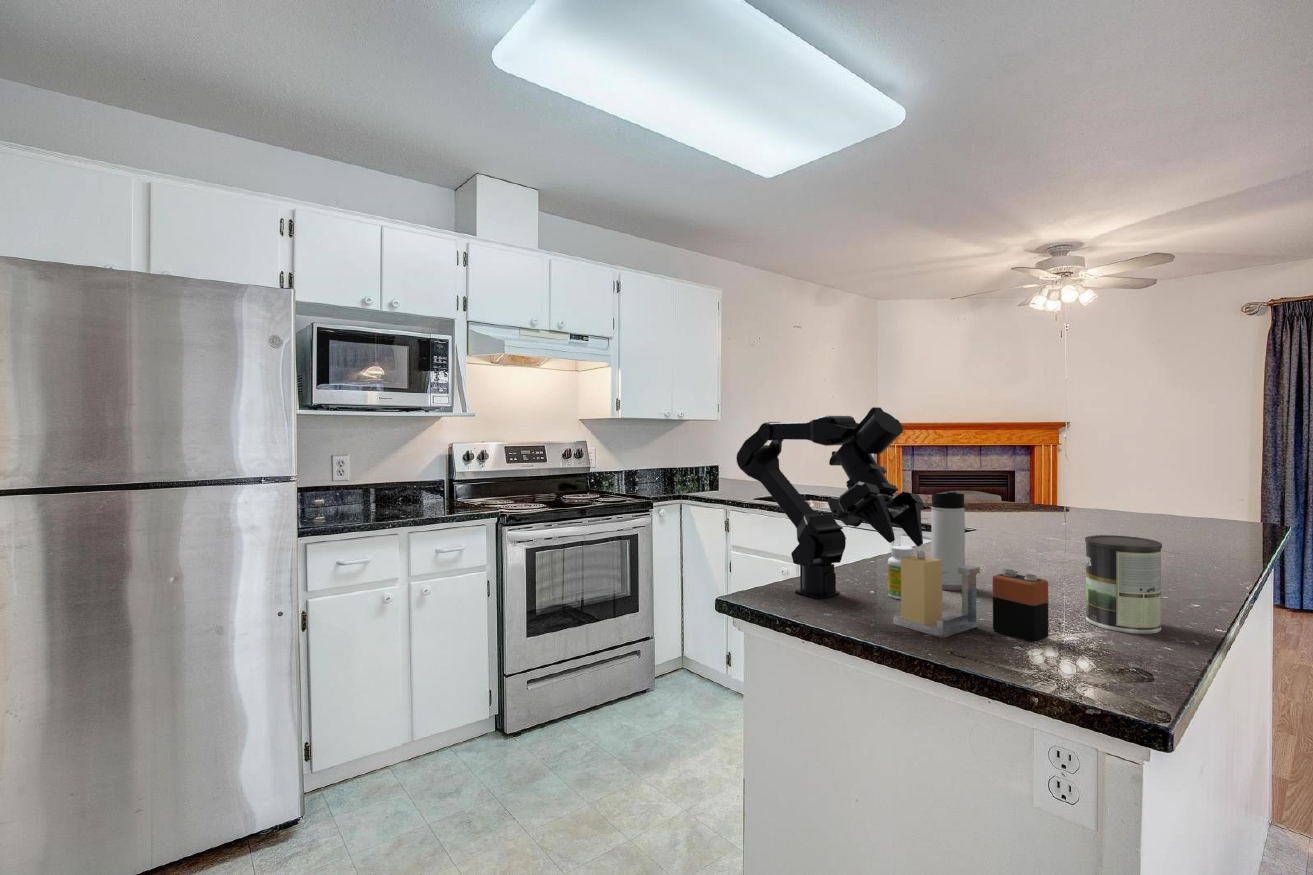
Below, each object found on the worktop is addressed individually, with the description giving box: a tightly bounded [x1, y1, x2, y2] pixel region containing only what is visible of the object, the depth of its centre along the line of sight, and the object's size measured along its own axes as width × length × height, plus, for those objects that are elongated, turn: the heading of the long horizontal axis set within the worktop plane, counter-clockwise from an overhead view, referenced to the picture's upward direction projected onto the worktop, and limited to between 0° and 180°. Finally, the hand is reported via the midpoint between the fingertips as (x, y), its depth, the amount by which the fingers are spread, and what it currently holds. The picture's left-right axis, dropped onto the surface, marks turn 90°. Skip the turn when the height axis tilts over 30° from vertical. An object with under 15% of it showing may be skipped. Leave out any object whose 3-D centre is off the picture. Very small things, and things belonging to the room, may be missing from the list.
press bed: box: [892, 564, 981, 639], centre depth 106 cm, size 10×10×10 cm
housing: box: [900, 550, 943, 625], centre depth 105 cm, size 4×4×11 cm
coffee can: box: [1084, 534, 1163, 635], centre depth 105 cm, size 10×10×14 cm
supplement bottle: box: [887, 545, 914, 600], centre depth 124 cm, size 5×5×10 cm
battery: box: [992, 568, 1049, 643], centre depth 101 cm, size 4×7×10 cm, turn 29°
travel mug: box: [930, 491, 966, 592], centre depth 131 cm, size 6×7×20 cm
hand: (906, 543), depth 107 cm, fingers open, 9 cm apart
